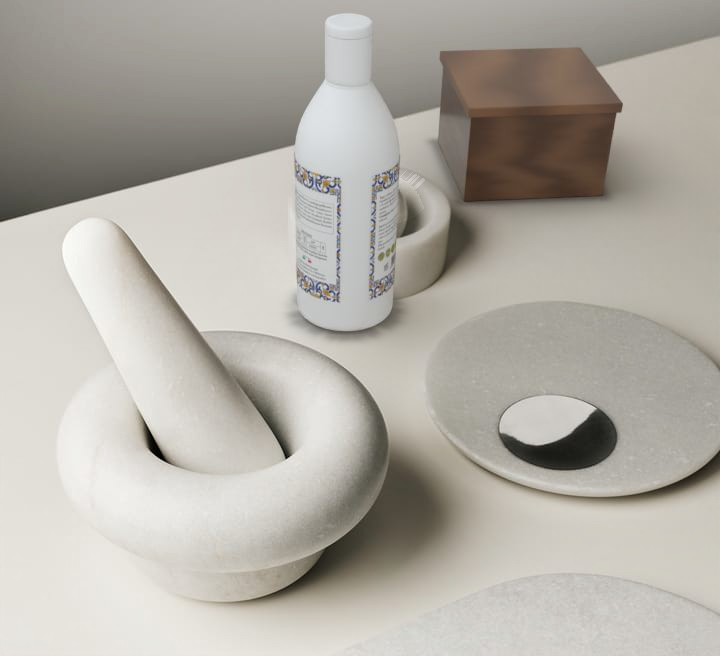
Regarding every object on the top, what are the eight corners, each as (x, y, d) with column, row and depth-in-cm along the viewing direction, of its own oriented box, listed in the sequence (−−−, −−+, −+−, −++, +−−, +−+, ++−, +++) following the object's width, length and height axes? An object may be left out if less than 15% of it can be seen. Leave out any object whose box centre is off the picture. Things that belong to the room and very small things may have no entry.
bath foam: (383, 281, 86) (393, -1, 73) (401, 330, 81) (417, 38, 68) (291, 287, 85) (284, 3, 72) (304, 338, 80) (300, 42, 67)
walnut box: (567, 135, 106) (580, 46, 101) (606, 197, 97) (623, 103, 92) (433, 140, 105) (439, 50, 100) (460, 203, 96) (469, 108, 90)
